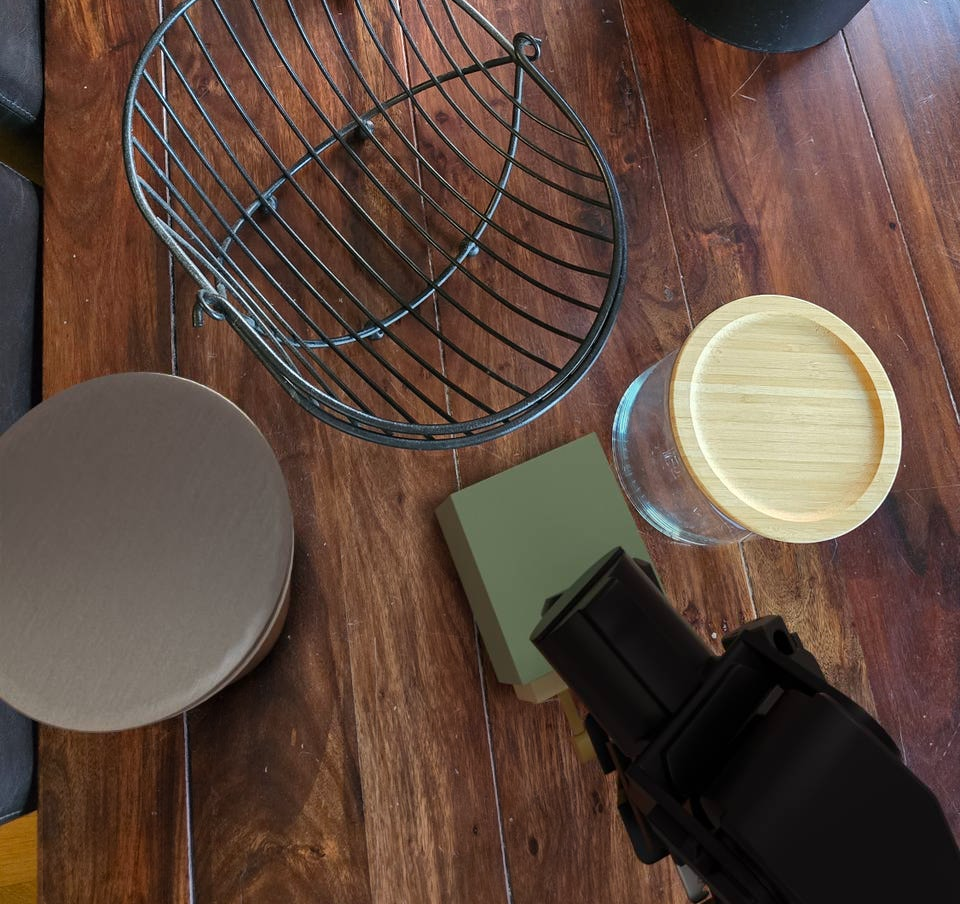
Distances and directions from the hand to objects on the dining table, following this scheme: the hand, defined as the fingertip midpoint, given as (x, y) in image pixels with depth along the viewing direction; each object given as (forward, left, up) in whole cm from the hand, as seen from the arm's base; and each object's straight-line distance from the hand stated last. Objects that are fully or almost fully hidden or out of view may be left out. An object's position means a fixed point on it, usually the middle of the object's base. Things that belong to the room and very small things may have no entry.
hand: (626, 752), depth 65 cm
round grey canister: (+17, +19, -5) cm, 26 cm away
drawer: (+7, 0, -4) cm, 8 cm away
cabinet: (+11, 0, -4) cm, 12 cm away
